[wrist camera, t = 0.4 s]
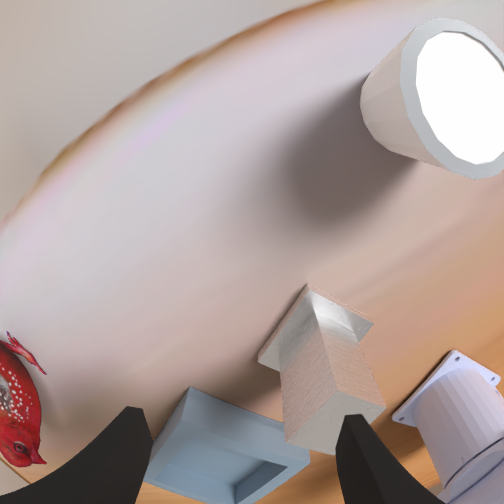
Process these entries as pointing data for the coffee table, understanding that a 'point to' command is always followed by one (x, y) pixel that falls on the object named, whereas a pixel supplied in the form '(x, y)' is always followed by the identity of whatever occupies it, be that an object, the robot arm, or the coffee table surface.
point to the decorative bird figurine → (18, 407)
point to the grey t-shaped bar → (321, 369)
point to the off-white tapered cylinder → (440, 99)
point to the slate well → (221, 452)
